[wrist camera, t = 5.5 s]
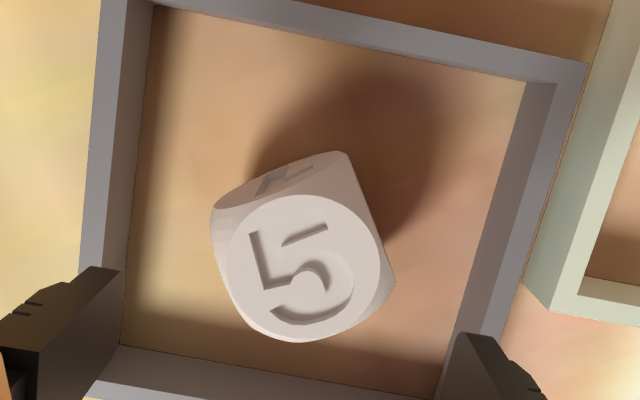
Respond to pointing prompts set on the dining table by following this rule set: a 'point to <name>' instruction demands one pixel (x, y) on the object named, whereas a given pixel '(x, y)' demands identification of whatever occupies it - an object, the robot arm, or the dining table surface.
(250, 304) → the die
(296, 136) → the dining table surface
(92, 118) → the gray frame
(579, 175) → the sage frame
